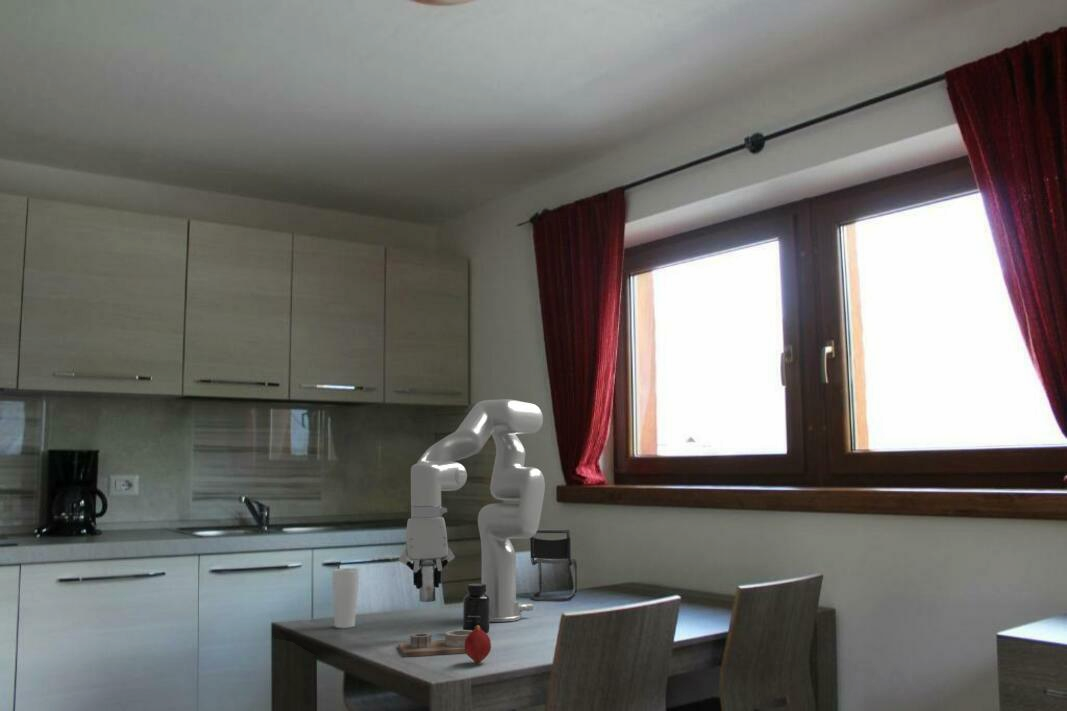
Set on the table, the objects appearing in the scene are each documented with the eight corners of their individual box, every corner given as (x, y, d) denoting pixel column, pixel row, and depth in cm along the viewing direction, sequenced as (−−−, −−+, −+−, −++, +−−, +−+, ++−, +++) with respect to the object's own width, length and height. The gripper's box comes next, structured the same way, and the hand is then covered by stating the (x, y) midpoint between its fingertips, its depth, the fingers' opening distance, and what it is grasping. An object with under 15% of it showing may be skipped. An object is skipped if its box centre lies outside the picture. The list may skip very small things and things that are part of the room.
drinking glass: (351, 629, 243) (352, 571, 245) (327, 629, 245) (328, 570, 246) (361, 625, 250) (362, 568, 252) (338, 624, 251) (338, 568, 253)
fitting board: (476, 642, 225) (476, 627, 226) (487, 651, 214) (487, 636, 214) (398, 646, 220) (398, 631, 221) (404, 657, 209) (404, 641, 209)
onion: (464, 660, 205) (464, 623, 206) (490, 659, 205) (490, 622, 206) (464, 666, 199) (464, 627, 200) (491, 665, 199) (491, 627, 200)
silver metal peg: (434, 598, 233) (434, 558, 234) (437, 601, 229) (437, 560, 230) (417, 599, 232) (416, 559, 233) (419, 602, 228) (419, 561, 229)
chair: (528, 601, 291) (527, 529, 293) (538, 593, 308) (537, 525, 310) (569, 601, 289) (568, 529, 291) (577, 594, 305) (576, 525, 308)
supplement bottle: (469, 635, 234) (469, 586, 235) (458, 631, 240) (458, 583, 241) (494, 633, 237) (494, 585, 238) (483, 629, 243) (483, 582, 244)
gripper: (456, 510, 238) (457, 583, 237) (391, 513, 234) (391, 587, 232) (462, 512, 231) (463, 587, 230) (394, 515, 227) (395, 592, 225)
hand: (427, 586), depth 231 cm, fingers closed on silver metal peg, 4 cm apart
